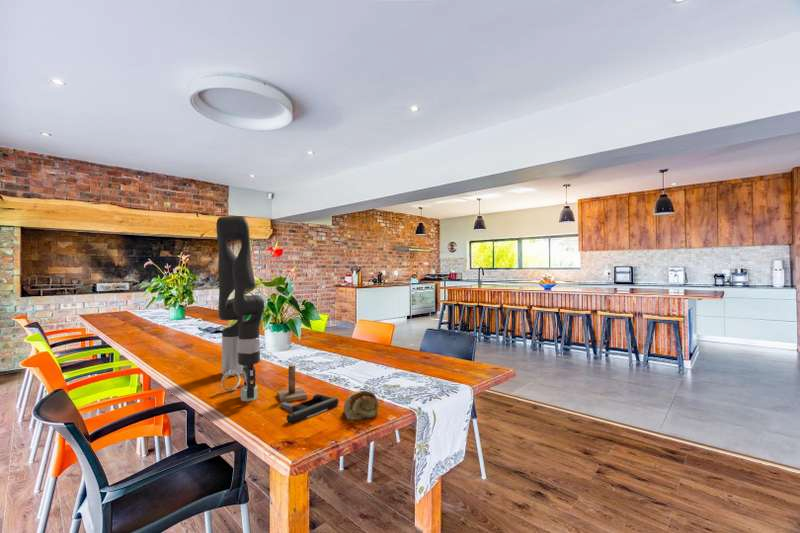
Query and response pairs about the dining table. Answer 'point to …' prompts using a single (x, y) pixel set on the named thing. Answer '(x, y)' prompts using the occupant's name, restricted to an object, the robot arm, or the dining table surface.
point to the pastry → (361, 405)
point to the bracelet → (227, 377)
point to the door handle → (309, 407)
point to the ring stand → (291, 389)
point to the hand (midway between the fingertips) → (248, 394)
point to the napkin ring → (244, 394)
